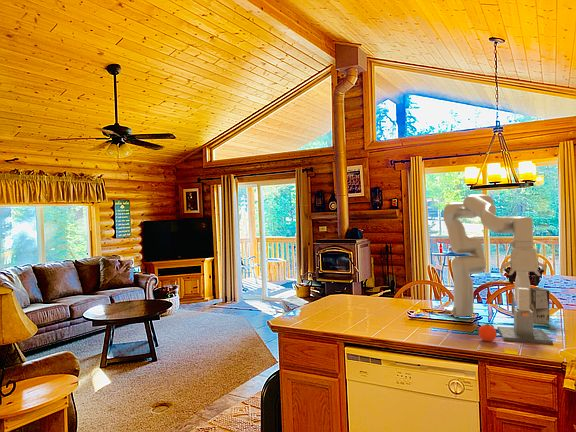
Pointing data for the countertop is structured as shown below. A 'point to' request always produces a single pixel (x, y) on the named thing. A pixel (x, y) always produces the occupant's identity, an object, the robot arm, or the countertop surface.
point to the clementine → (487, 332)
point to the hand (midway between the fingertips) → (524, 284)
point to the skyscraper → (520, 285)
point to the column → (523, 299)
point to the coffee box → (539, 304)
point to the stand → (524, 330)
